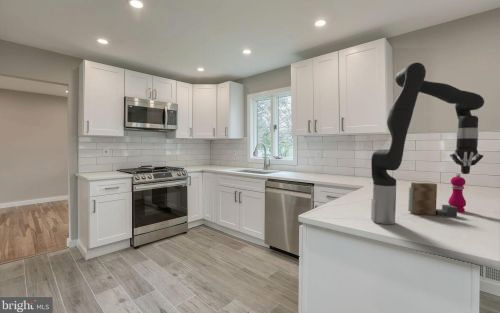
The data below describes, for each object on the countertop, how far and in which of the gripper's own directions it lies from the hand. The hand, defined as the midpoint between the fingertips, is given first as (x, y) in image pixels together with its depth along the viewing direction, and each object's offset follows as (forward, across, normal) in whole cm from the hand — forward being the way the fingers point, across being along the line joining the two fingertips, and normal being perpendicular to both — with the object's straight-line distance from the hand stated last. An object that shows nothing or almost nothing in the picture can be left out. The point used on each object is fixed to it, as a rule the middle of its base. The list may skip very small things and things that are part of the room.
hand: (465, 173), depth 115 cm
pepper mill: (+21, -4, -14) cm, 26 cm away
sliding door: (+22, +16, -3) cm, 27 cm away
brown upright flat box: (+22, +16, -3) cm, 27 cm away
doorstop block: (+22, +6, -3) cm, 23 cm away
